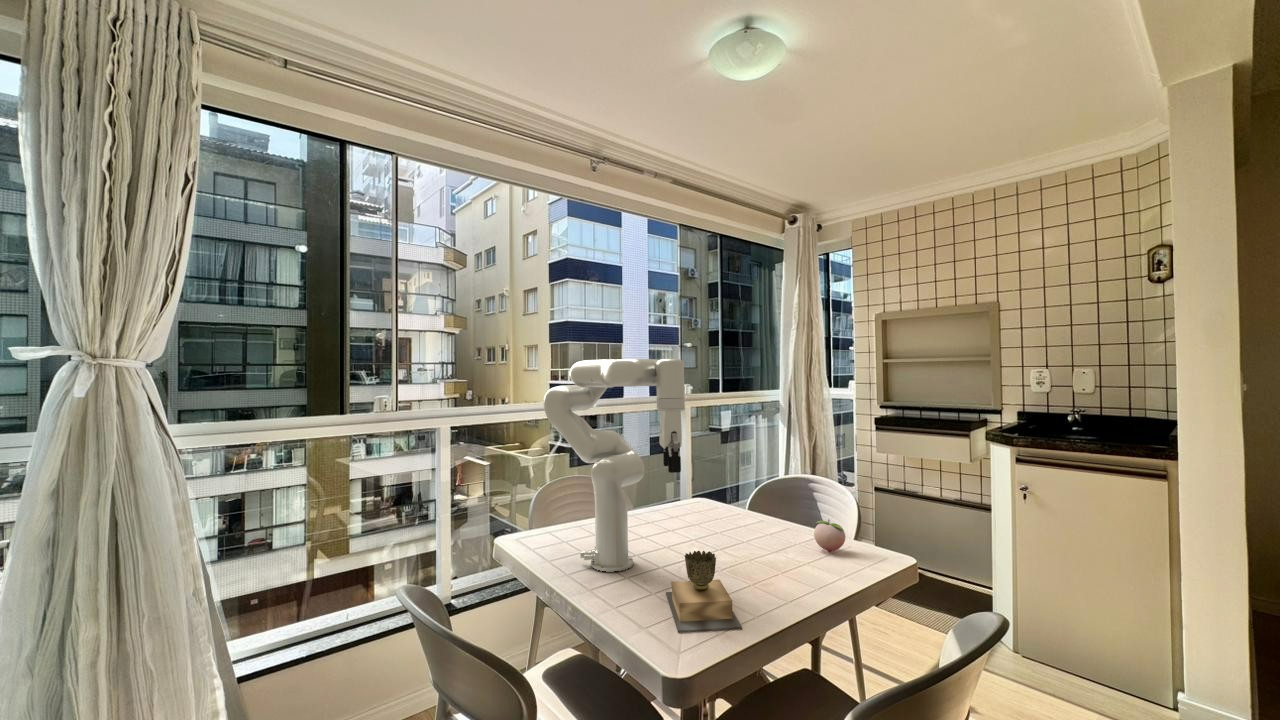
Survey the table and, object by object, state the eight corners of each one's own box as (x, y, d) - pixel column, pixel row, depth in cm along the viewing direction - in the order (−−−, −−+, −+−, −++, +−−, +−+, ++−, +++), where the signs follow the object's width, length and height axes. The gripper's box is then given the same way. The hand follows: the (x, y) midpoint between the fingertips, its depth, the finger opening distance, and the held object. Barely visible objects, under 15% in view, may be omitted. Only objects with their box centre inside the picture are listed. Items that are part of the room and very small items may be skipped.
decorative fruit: (809, 552, 158) (808, 520, 159) (819, 545, 164) (818, 514, 165) (840, 559, 152) (839, 525, 152) (849, 552, 158) (848, 519, 159)
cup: (683, 583, 125) (682, 550, 125) (713, 582, 126) (712, 549, 126) (688, 596, 118) (687, 561, 118) (720, 595, 118) (719, 560, 118)
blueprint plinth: (678, 632, 110) (677, 611, 110) (665, 593, 130) (665, 575, 130) (742, 629, 111) (741, 608, 111) (720, 591, 131) (719, 573, 131)
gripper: (653, 403, 146) (654, 464, 146) (660, 406, 129) (662, 475, 128) (679, 403, 147) (680, 463, 146) (690, 406, 130) (691, 474, 129)
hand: (671, 468), depth 137 cm, fingers open, 9 cm apart
